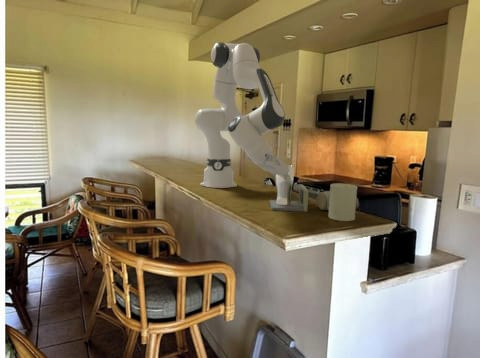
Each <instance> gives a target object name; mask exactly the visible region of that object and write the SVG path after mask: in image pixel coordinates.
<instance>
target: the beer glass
mask: <svg viewBox="0 0 480 358" xmlns="http://www.w3.org/2000/svg"><path fill="white" fill-rule="evenodd" d="M285 165H286V166H287V167H288V168H289V170H290V171H289V172H288V176H289V177H290V178H291V180H290V181H289V182H287V181H285V180H284V178H283V176H280V175H277V174H276V177H275V186H276V199H275V200H276V204H277V205H282V206H288V205H291V201H292V200H291V199H292V198H291V193H292V189H293V184H294V176H295V175H294V170H295V169H294V166H292V165H287V164H285Z"/></svg>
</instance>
